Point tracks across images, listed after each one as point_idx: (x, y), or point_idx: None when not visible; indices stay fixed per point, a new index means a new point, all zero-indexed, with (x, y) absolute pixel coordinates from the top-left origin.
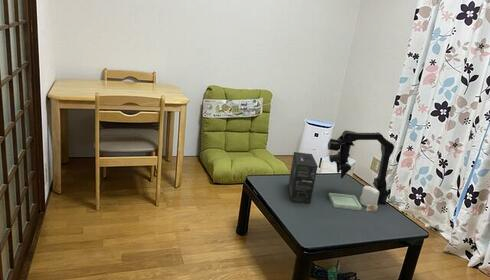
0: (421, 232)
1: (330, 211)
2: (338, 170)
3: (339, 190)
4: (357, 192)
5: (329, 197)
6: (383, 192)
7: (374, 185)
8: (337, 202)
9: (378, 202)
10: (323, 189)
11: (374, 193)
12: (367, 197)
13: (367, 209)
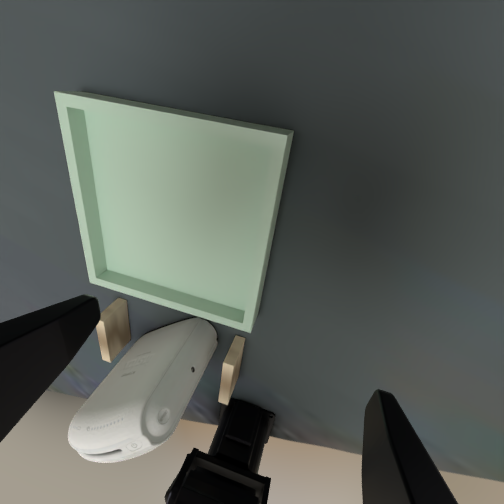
0: None
1: (7, 25)
2: (377, 459)
3: (424, 301)
4: None
5: (249, 123)
6: (177, 476)
7: (219, 502)
8: (145, 152)
9: (228, 407)
10: (481, 146)
11: (77, 415)
12: (134, 366)
13: (113, 305)
